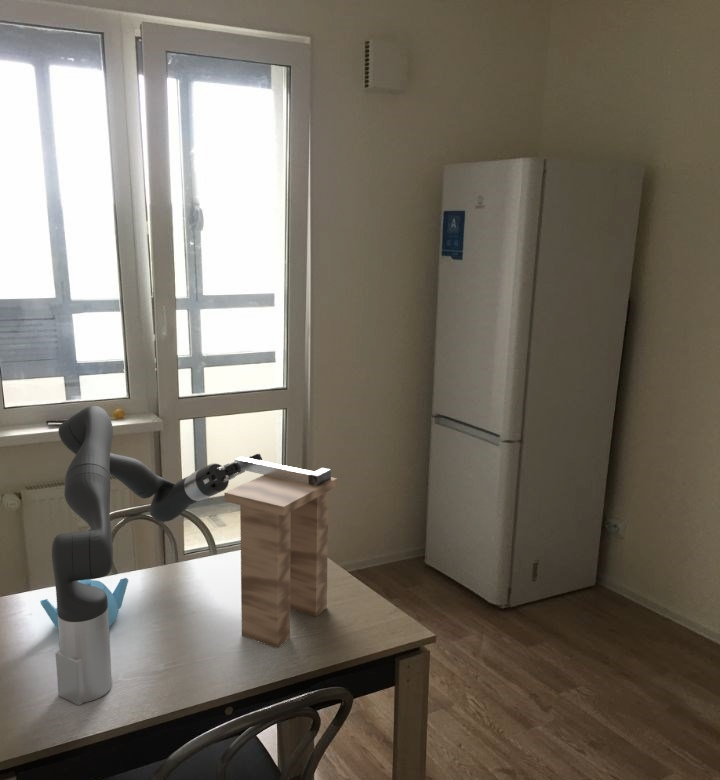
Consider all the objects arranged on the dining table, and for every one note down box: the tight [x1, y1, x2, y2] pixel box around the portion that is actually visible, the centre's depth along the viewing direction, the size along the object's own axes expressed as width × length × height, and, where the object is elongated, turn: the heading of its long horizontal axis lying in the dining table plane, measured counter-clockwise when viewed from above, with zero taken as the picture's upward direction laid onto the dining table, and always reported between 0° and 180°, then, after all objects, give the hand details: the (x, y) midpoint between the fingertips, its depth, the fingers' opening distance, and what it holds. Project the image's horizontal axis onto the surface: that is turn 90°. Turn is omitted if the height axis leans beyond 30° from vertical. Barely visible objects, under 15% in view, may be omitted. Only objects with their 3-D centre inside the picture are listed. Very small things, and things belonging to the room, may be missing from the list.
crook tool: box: [234, 456, 332, 486], centre depth 170 cm, size 6×24×2 cm, turn 61°
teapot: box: [39, 577, 129, 629], centre depth 165 cm, size 15×15×11 cm
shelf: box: [224, 474, 338, 649], centre depth 166 cm, size 22×16×34 cm
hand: (249, 461), depth 173 cm, fingers open, 8 cm apart
